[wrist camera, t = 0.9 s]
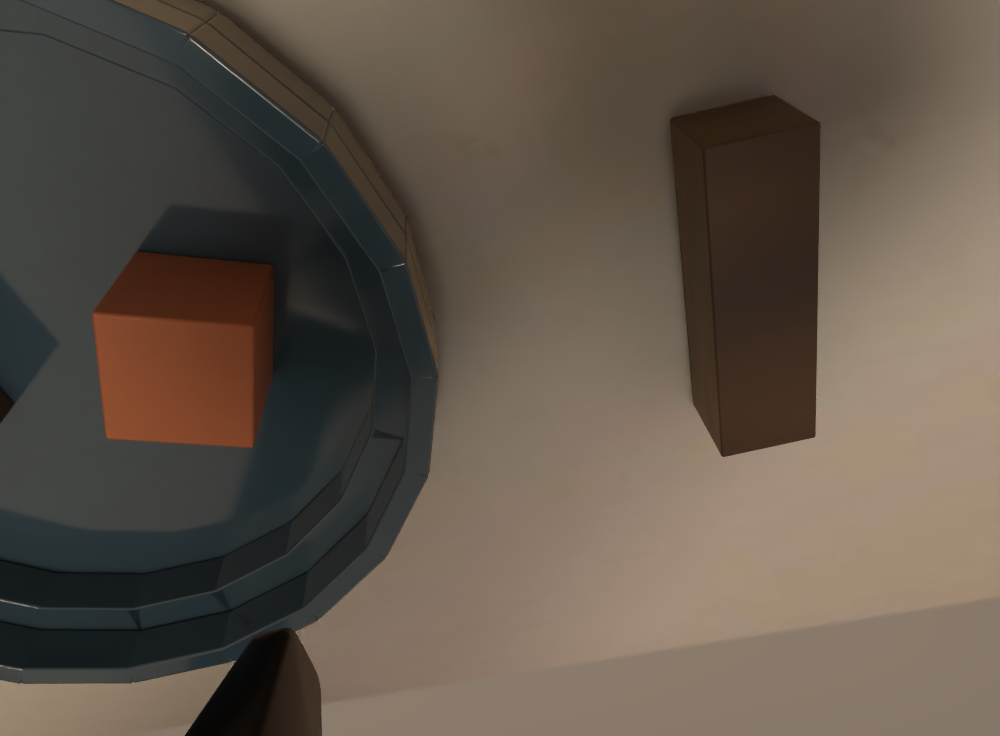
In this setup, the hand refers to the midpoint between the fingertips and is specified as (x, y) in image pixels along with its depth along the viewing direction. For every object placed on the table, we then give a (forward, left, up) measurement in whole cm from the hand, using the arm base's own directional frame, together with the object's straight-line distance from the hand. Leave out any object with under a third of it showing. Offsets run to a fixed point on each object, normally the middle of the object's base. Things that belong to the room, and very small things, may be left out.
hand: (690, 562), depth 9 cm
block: (-1, +8, -11) cm, 14 cm away
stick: (-3, -4, -12) cm, 13 cm away
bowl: (-1, +12, -12) cm, 16 cm away
